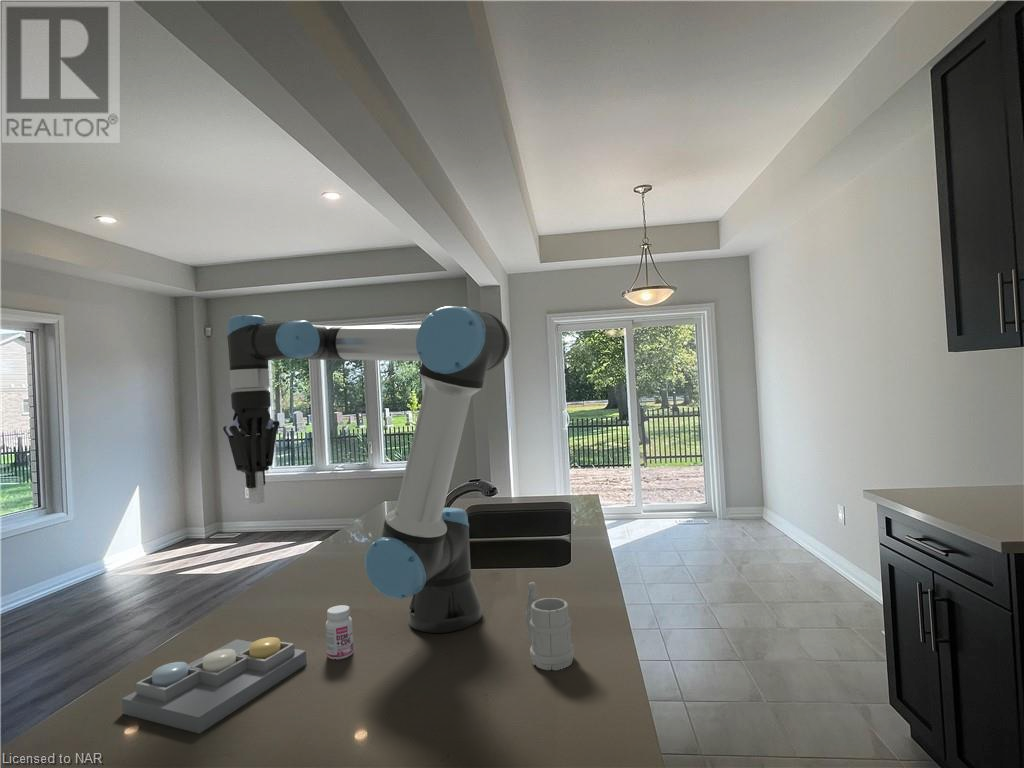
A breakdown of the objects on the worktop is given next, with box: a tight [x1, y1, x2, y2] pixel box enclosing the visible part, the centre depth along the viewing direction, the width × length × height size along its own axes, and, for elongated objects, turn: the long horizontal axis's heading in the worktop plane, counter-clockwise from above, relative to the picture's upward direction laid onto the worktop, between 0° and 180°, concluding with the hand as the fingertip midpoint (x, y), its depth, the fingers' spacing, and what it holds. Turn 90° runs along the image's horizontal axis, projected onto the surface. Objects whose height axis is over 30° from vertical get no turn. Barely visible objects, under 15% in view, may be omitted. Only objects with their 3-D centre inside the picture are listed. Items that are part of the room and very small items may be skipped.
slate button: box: [151, 661, 188, 688], centre depth 95 cm, size 5×5×2 cm
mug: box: [525, 581, 575, 671], centre depth 104 cm, size 8×12×12 cm, turn 28°
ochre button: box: [249, 636, 281, 659], centre depth 103 cm, size 5×5×2 cm
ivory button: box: [203, 649, 236, 673], centre depth 99 cm, size 5×5×2 cm
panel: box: [121, 638, 308, 734], centre depth 99 cm, size 17×22×4 cm
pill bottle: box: [325, 604, 354, 661], centre depth 109 cm, size 5×5×8 cm
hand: (256, 502), depth 123 cm, fingers closed
